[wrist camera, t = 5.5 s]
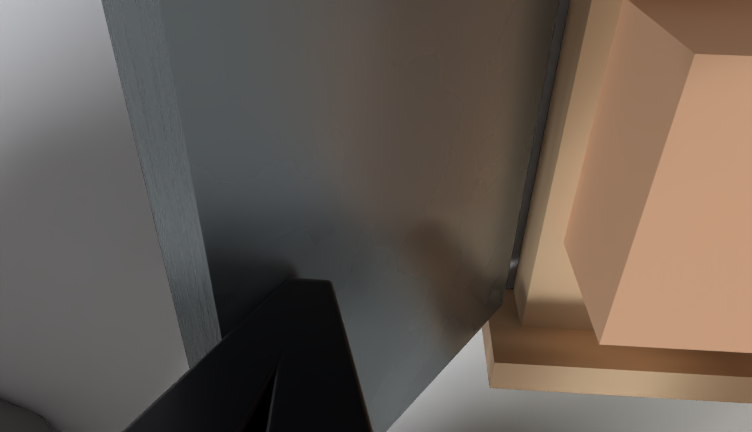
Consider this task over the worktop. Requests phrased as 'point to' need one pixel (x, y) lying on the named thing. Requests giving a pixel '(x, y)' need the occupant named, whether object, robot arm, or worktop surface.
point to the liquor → (20, 420)
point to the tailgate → (338, 163)
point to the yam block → (670, 181)
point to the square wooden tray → (555, 274)
